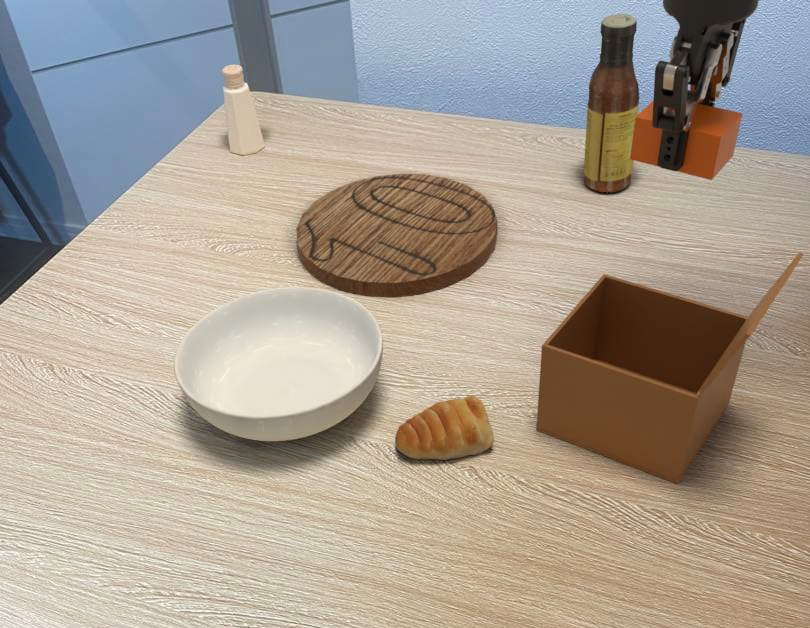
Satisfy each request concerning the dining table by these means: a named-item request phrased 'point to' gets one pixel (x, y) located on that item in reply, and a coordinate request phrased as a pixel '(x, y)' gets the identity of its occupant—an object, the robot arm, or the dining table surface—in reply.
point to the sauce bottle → (612, 108)
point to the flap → (751, 323)
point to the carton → (637, 376)
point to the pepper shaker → (240, 113)
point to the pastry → (446, 431)
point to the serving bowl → (280, 362)
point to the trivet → (397, 235)
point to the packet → (691, 140)
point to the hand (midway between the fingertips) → (682, 153)
